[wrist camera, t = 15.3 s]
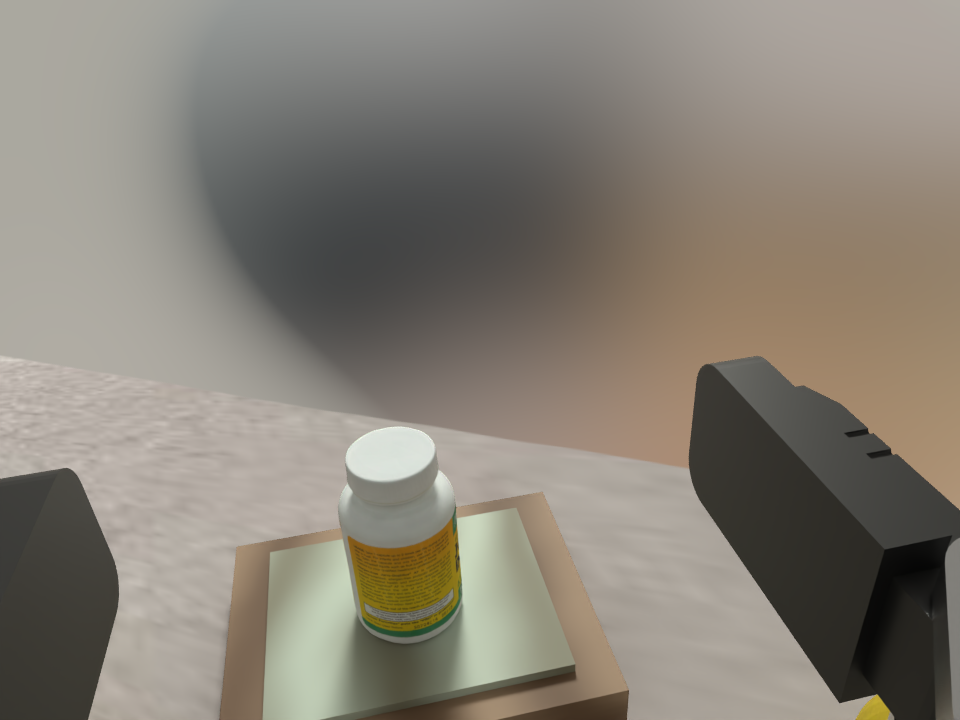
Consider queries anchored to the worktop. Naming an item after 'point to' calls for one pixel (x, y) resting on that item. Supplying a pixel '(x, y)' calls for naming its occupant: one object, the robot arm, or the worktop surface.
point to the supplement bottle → (400, 536)
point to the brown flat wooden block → (433, 662)
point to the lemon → (874, 710)
